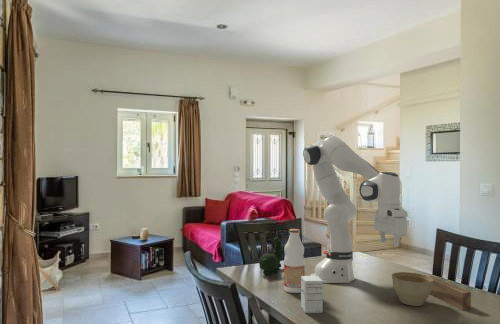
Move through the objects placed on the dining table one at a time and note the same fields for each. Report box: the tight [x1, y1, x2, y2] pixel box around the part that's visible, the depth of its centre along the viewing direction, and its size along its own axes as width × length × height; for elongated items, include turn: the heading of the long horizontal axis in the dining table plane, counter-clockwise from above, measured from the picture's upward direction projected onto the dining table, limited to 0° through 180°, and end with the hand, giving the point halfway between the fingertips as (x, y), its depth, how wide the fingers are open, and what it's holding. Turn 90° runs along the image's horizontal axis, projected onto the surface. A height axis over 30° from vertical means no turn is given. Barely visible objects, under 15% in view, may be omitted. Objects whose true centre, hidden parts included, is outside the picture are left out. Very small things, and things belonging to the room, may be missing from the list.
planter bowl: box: [391, 271, 433, 307], centre depth 170 cm, size 16×16×11 cm
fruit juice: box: [283, 228, 306, 294], centre depth 185 cm, size 9×9×28 cm
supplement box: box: [300, 275, 324, 314], centre depth 160 cm, size 7×7×13 cm
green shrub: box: [258, 236, 284, 276], centre depth 215 cm, size 9×19×25 cm
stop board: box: [428, 275, 472, 311], centre depth 173 cm, size 4×24×7 cm, turn 12°
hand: (389, 244), depth 167 cm, fingers open, 8 cm apart
